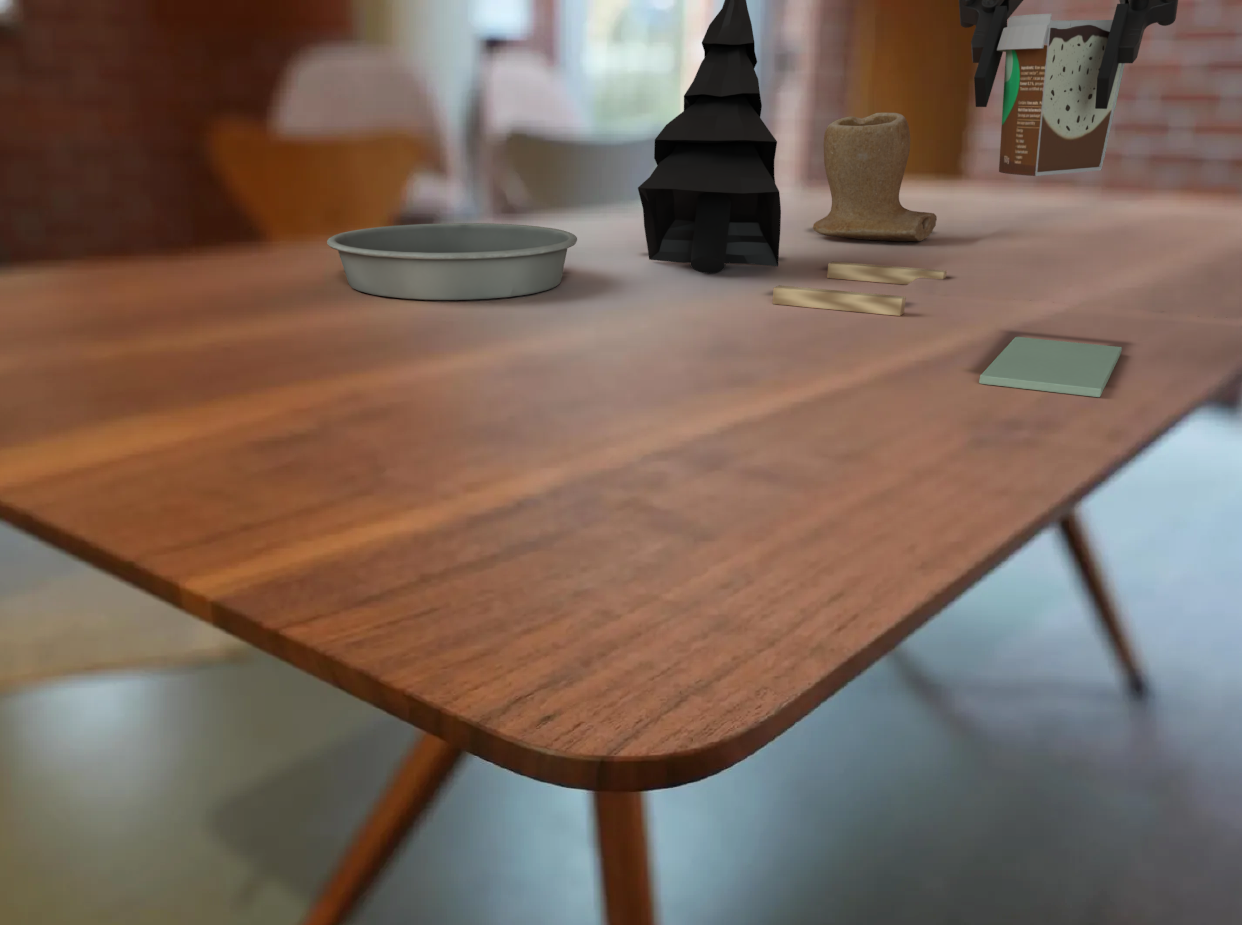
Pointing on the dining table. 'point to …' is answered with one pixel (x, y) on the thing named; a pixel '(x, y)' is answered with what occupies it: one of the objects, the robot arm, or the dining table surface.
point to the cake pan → (453, 260)
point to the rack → (856, 299)
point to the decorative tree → (716, 162)
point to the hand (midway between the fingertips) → (1040, 92)
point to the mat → (1053, 366)
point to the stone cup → (870, 180)
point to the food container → (1054, 96)
